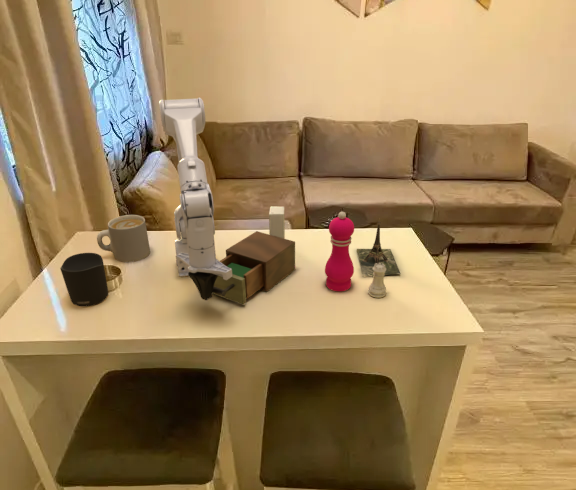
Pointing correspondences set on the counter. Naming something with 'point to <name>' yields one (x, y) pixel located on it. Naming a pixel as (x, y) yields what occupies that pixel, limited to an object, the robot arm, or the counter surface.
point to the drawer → (240, 280)
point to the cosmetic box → (277, 221)
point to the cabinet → (267, 256)
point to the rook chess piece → (378, 282)
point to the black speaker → (85, 279)
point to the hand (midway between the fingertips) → (206, 297)
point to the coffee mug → (126, 238)
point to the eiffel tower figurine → (377, 258)
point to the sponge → (238, 269)
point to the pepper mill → (340, 254)
